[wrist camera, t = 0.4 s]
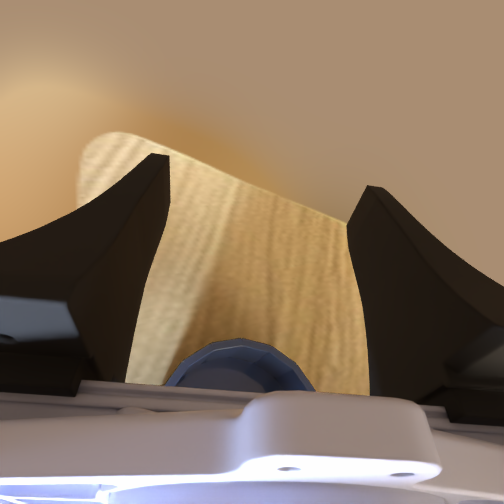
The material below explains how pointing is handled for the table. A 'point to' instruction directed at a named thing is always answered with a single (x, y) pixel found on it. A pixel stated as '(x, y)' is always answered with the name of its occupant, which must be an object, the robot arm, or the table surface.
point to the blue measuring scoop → (240, 369)
